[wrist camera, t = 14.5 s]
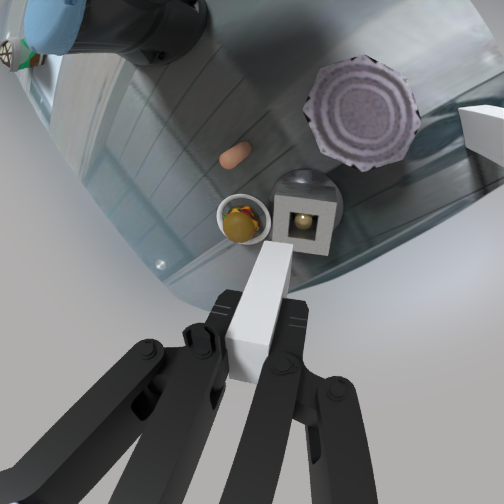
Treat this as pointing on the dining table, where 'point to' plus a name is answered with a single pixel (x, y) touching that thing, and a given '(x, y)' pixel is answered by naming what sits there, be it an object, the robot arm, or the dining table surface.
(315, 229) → the collar
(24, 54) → the food container
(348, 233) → the dining table surface
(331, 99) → the can
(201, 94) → the dining table surface
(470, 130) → the milk
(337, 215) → the hub
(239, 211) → the hamburger
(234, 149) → the sausage
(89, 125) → the dining table surface
